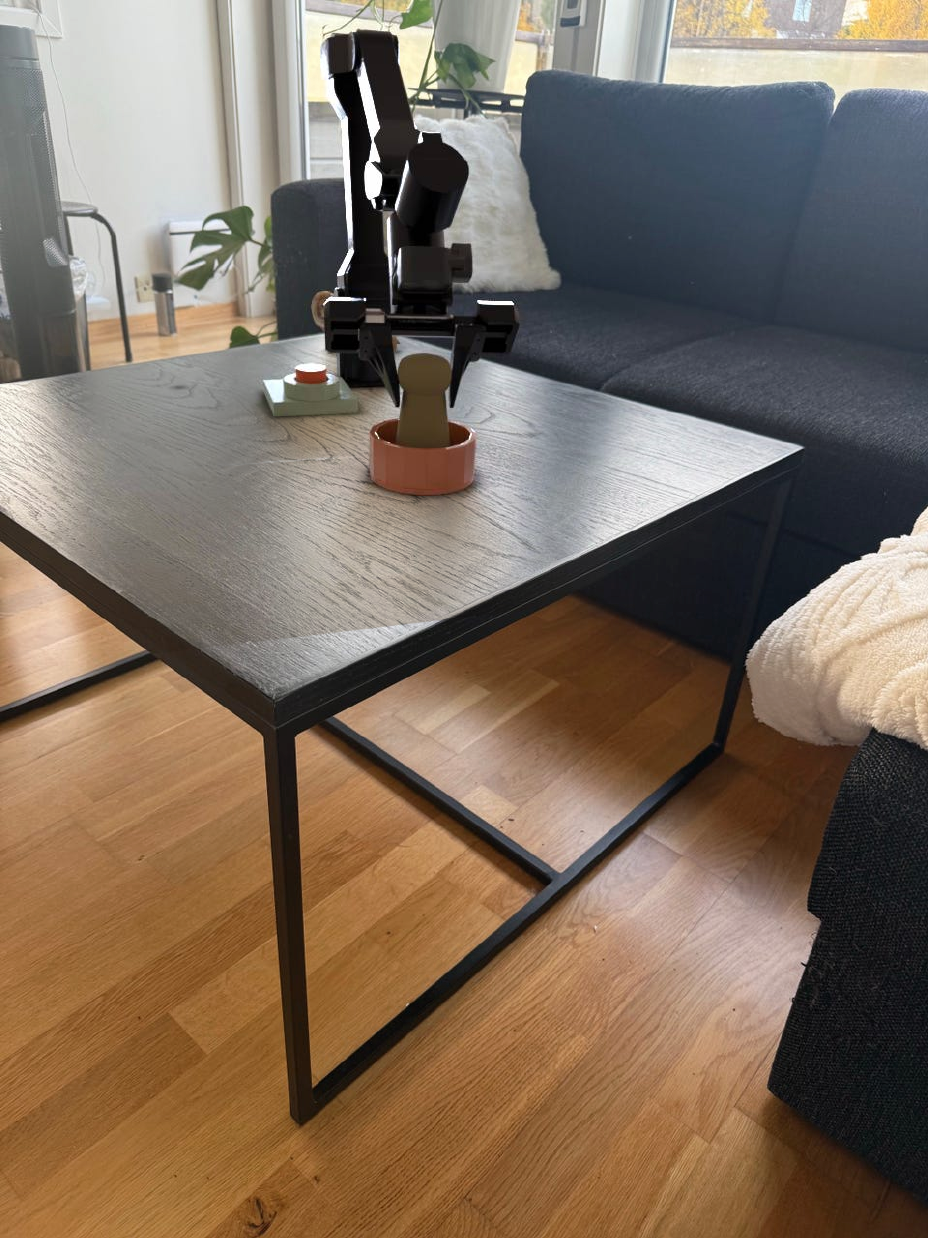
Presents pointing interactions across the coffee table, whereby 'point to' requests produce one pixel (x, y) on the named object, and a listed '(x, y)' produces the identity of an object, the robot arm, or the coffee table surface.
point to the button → (311, 373)
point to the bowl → (422, 461)
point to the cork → (424, 401)
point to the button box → (309, 396)
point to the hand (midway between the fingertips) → (424, 405)
